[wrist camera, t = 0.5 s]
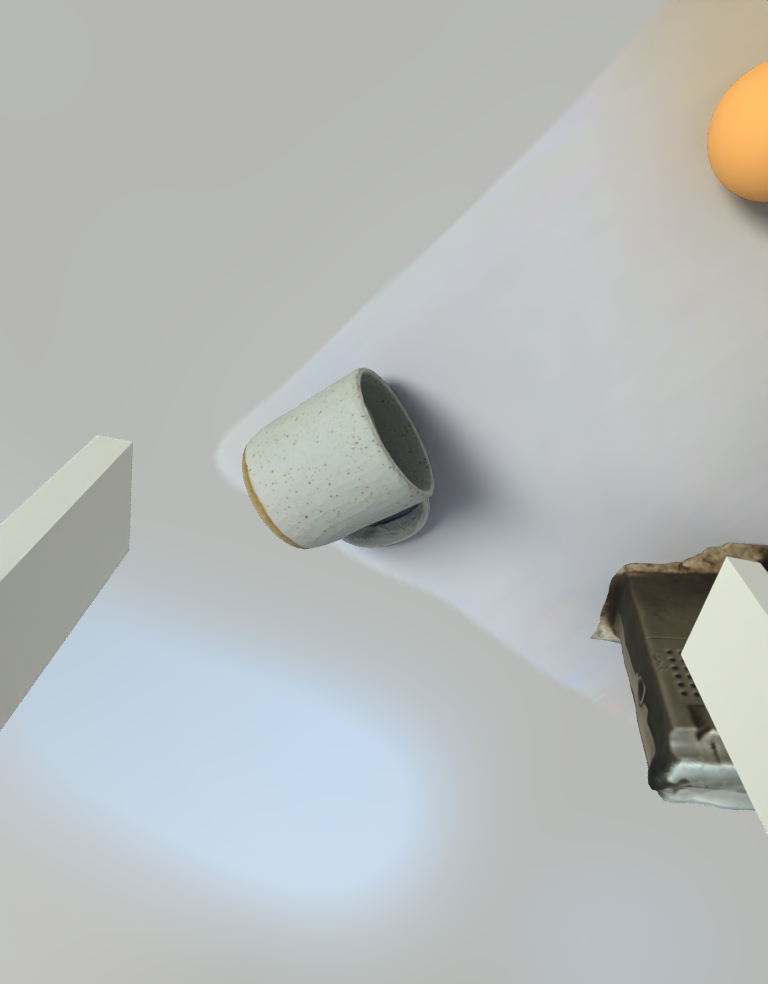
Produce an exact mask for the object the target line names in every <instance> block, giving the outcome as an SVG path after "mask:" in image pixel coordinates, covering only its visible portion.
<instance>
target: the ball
mask: <svg viewBox="0 0 768 984" xmlns="http://www.w3.org/2000/svg"><path fill="white" fill-rule="evenodd" d="M707 148H708V156H709V161H710V164H711V167H712V169H713V171H714V173H715V175H716V177H717V178H718V179H719V181H720V182H721V183H722V184H723V185H724V186H725V187H726V188H727V189H728V190H729V191H731V192H732V193H734V194H736V195H738V196H740V197H742V198H745V199H748V200H752V201H758V202H768V61H767V62H764V63H762V64H760V65H758V66H756V67H754V68H753V69H751V70H750V71H748V72H747V73H746V74H744V75H743V76H742V77H740V78H739V79H738V80H737V81H736V82H735V83H734V84H733V85H732V86H731V87H730V88H729V90H728V91H727V92H726V93H725V95H724V96H723V98H722V99H721V101H720V102H719V104H718V106H717V108H716V110H715V112H714V114H713V117H712V119H711V123H710V127H709V132H708V142H707Z"/></svg>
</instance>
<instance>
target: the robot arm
mask: <svg viewBox="0 0 768 984" xmlns="http://www.w3.org/2000/svg"><path fill="white" fill-rule="evenodd" d="M132 450H133V442H131V441H126V440H121V439H115V438H111V437H105V436H100V435H97V436H96V437H94V438H93V440H91V441H90V442H89V443H88V444H87V445H86V446H85V447H84V448H83V449H81V450H80V451H79V452H78V453H77V454H76V455H75V456H74V457H73V458H72V459H70V460H69V461H68V462H67V463H66V464H65V465H64V466H63V467H62V468H61V469H60V470H59V471H57V472H56V473H55V474H54V475H53V476H52V477H51V478H50V479H49V480H48V481H47V482H46V483H44V484H43V485H42V486H41V487H40V488H39V489H38V490H37V491H36V492H35V493H34V494H32V495H31V496H30V497H29V498H28V499H27V500H26V501H25V502H24V503H23V504H22V505H21V506H20V507H18V508H17V509H16V510H15V511H14V512H13V513H12V514H11V515H10V516H9V517H7V518H6V519H5V520H4V521H3V522H2V523H1V524H0V731H1V729H2V728H3V726H4V725H5V723H6V722H7V721H8V719H9V718H10V717H11V715H12V714H13V712H14V711H15V710H16V708H17V707H18V705H19V704H20V702H21V701H22V700H23V698H24V697H25V695H26V694H27V693H28V691H29V690H30V688H31V687H32V686H33V684H34V683H35V681H36V680H37V679H38V677H39V676H40V674H41V673H42V672H43V670H44V669H45V667H46V666H47V665H48V663H49V662H50V660H51V659H52V658H53V656H54V655H55V653H56V652H57V651H58V649H59V648H60V646H61V645H62V644H63V642H64V641H65V639H66V638H67V637H68V635H69V634H70V632H71V631H72V630H73V628H74V627H75V625H76V624H77V622H78V621H79V620H80V618H81V617H82V616H83V614H84V613H85V611H86V610H87V608H88V607H89V606H90V604H91V603H92V602H93V600H94V599H95V597H96V596H97V595H98V593H99V592H100V590H101V589H102V588H103V586H104V585H105V583H106V582H107V580H108V579H109V578H110V576H111V575H112V573H113V572H114V571H115V569H116V568H117V566H118V565H119V564H120V562H121V561H122V559H123V558H124V557H125V555H126V554H127V553H128V551H129V538H130V537H129V536H130V509H131V480H132ZM681 656H682V658H683V660H684V662H685V664H686V666H687V668H688V670H689V672H690V675H691V677H692V679H693V681H694V683H695V685H696V687H697V689H698V691H699V693H700V695H701V698H702V700H703V702H704V704H705V706H706V708H707V710H708V712H709V714H710V716H711V718H712V721H713V723H714V725H715V727H716V729H717V731H718V733H719V735H720V737H721V739H722V742H723V744H724V746H725V748H726V750H727V752H728V754H729V756H730V758H731V760H732V762H733V765H734V767H735V769H736V771H737V773H738V775H739V777H740V779H741V781H742V783H743V785H744V788H745V790H746V792H747V794H748V796H749V798H750V800H751V802H752V804H753V806H754V809H755V811H756V813H757V815H758V817H759V819H760V821H761V823H762V825H763V827H764V829H765V832H766V834H767V836H768V573H767V571H766V570H765V569H764V567H763V566H762V565H761V563H758V562H753V561H748V560H742V559H737V558H732V557H727V556H726V559H725V561H724V563H723V565H722V567H721V569H720V571H719V574H718V576H717V578H716V580H715V582H714V584H713V586H712V589H711V591H710V593H709V595H708V597H707V599H706V601H705V603H704V606H703V608H702V610H701V612H700V614H699V616H698V618H697V621H696V623H695V625H694V627H693V629H692V631H691V633H690V636H689V638H688V640H687V642H686V644H685V646H684V648H683V651H682V653H681Z"/></svg>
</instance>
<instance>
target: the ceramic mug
mask: <svg viewBox="0 0 768 984" xmlns="http://www.w3.org/2000/svg"><path fill="white" fill-rule="evenodd" d="M242 471H243V479H244V483H245V486H246V489H247V492H248V494H249V497H250V499H251V501H252V504H253V505H254V507H255V509H256V511H257V512H258V514H259V516H260V517H261V519H262V520H263V521H264V523H265V524H266V525H267V526H268V527H269V529H270V530H271V531H272V532H273V533H274V534H275V535H276V536H277V537H279V538H280V539H282V540H283V541H284V542H286V543H288V544H290V545H292V546H294V547H296V548H301V549H309V548H315V547H319V546H323V545H326V544H329V543H332V542H335V541H337V540H340V539H343V540H344V541H345V542H348V543H350V544H353V545H355V546H359V547H383V546H388V545H392V544H395V543H398V542H401V541H403V540H406V539H408V538H410V537H412V536H413V535H415V534H416V533H417V532H419V531H420V530H421V529H422V528H423V527H424V525H425V524H426V521H427V519H428V517H429V512H430V501H429V497H431V496H432V495H433V491H434V487H435V486H434V478H433V473H432V468H431V464H430V461H429V459H428V456H427V453H426V450H425V448H424V445H423V443H422V440H421V438H420V436H419V434H418V431H417V429H416V428H415V426H414V425H413V423H412V421H411V419H410V417H409V415H408V413H407V411H406V410H405V408H404V407H403V405H402V404H401V402H400V401H399V399H398V398H397V396H396V395H395V393H394V392H393V391H392V390H391V388H390V387H389V386H388V385H387V383H386V382H384V380H383V379H382V378H381V377H380V376H378V375H377V374H376V373H375V372H374V371H372V370H370V369H367V368H359V369H357V370H355V371H353V372H351V373H350V374H348V375H347V376H345V377H344V378H342V379H341V380H339V381H338V382H336V383H334V384H333V385H331V386H329V387H328V388H326V389H325V390H323V391H321V392H320V393H318V394H316V395H315V396H313V397H311V398H310V399H308V400H307V401H305V402H304V403H302V404H301V405H299V406H298V407H296V408H295V409H293V410H291V411H290V412H288V413H286V414H285V415H283V416H281V417H279V418H278V419H276V420H274V421H273V422H271V423H270V424H268V425H267V426H265V427H264V428H263V429H262V430H261V431H260V432H259V433H257V434H256V435H255V436H254V437H253V438H252V439H251V440H250V441H249V443H248V444H247V445H246V447H245V450H244V453H243V460H242ZM418 503H419V504H418ZM416 504H418V506H417V507H416V508H415V509H413V510H412V511H411V512H410V513H408V514H407V515H405V516H403V517H400V518H398V519H395V520H393V521H390V522H388V523H386V524H381V525H378V526H376V527H366V526H368V525H371V524H373V523H375V522H378V521H380V520H382V519H385V518H387V517H389V516H392V515H394V514H396V513H398V512H400V511H403V510H405V509H407V508H409V507H412V506H414V505H416Z"/></svg>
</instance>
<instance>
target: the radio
mask: <svg viewBox="0 0 768 984" xmlns="http://www.w3.org/2000/svg"><path fill="white" fill-rule="evenodd" d="M726 556H727V557H732V558H737V559H742V560H748V561H753V562H758V563H761V565H762V566H763V567H764V569H765V570H766V571H767V573H768V546H765V545H752V544H738V543H726V544H725V545H723V546H722V547H712V548H707V549H706V550H705V551H704V552H703V553H702V554H698V555H697V556H695V557H693V558H689V559H687V560H685V561H684V562H675V563H669V564H640V563H631V564H628V565H625V566H623V567H622V568H621V569H620V570H619V571H618V572H617V573H616V575H615V576H614V577H613V578H612V580H611V583H610V587H609V593H608V595H607V599H606V602H605V604H604V606H603V609H602V612H601V615H600V623H599V626H598V628H597V630H596V631H595V633H594V634H593V635H592V636H591V638H593V639H601V640H608V641H612V642H616V643H620V644H621V645H622V653H623V657H624V664H625V667H626V670H627V673H628V677H629V680H630V686H631V691H632V694H633V698H634V702H635V707H636V715H637V721H638V726H639V730H640V735H641V739H642V743H643V747H644V751H645V755H646V759H647V764H648V768H649V769H648V782H649V783H648V784H649V785H650V787H651V789H652V790H656V791H657V792H658V794H659V795H660V797H661V798H662V799H663V800H664V801H667V802H670V803H693V804H699V805H705V806H711V807H716V808H721V809H732V810H742V809H743V810H754V811H755V809H754V806H753V804H752V802H751V800H750V798H749V796H748V794H747V792H746V790H745V788H744V785H743V783H742V781H741V779H740V777H739V775H738V773H737V771H736V769H735V767H734V765H733V762H732V760H731V758H730V756H729V754H728V752H727V750H726V748H725V746H724V744H723V742H722V739H721V737H720V735H719V733H718V731H717V729H716V727H715V725H714V723H713V721H712V718H711V716H710V714H709V712H708V710H707V708H706V706H705V704H704V702H703V700H702V698H701V695H700V693H699V691H698V689H697V687H696V685H695V683H694V681H693V679H692V677H691V675H690V672H689V670H688V668H687V666H686V664H685V662H684V660H683V658H682V656H681V653H682V651H683V648H684V646H685V644H686V642H687V640H688V638H689V636H690V633H691V631H692V629H693V627H694V625H695V623H696V621H697V618H698V616H699V614H700V612H701V610H702V608H703V606H704V603H705V601H706V599H707V597H708V595H709V593H710V591H711V589H712V586H713V584H714V582H715V580H716V578H717V576H718V574H719V571H720V569H721V567H722V565H723V563H724V561H725V559H726Z"/></svg>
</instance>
